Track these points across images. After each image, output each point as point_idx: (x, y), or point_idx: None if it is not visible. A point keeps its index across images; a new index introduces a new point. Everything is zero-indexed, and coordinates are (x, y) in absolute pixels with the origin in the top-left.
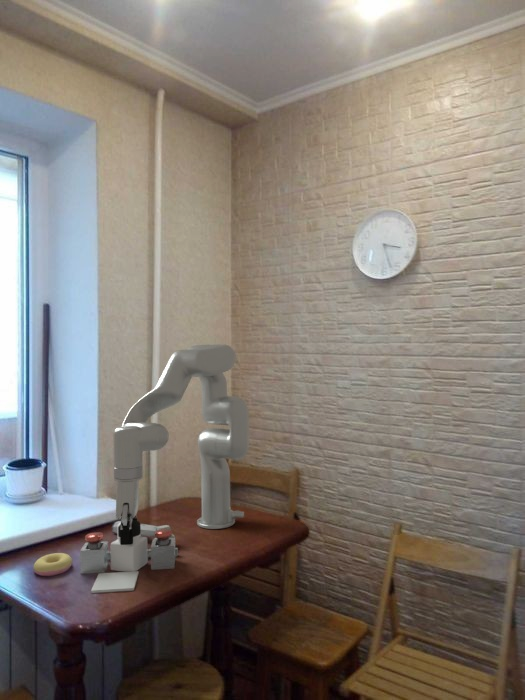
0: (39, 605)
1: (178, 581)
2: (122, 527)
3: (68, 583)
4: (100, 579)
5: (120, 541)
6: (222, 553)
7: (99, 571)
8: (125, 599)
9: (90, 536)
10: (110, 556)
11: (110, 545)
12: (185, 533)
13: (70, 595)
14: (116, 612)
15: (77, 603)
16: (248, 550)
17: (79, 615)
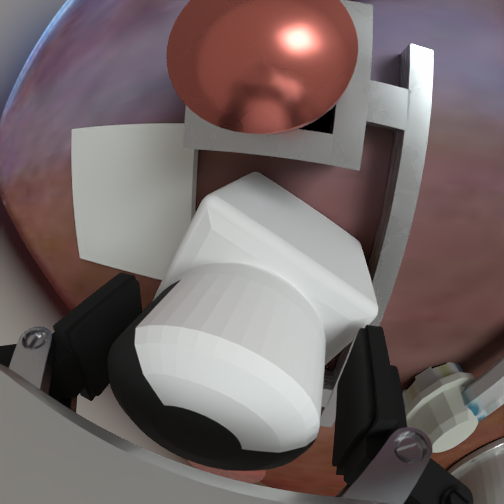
0: (57, 20)
1: None
2: (13, 345)
3: (159, 25)
4: (137, 141)
5: (112, 281)
6: (294, 466)
7: None
8: (50, 231)
9: (223, 13)
10: (392, 173)
11: (210, 193)
12: (484, 421)
13: (78, 70)
14: (17, 213)
15: (42, 110)
16: (291, 487)
17: (11, 136)
